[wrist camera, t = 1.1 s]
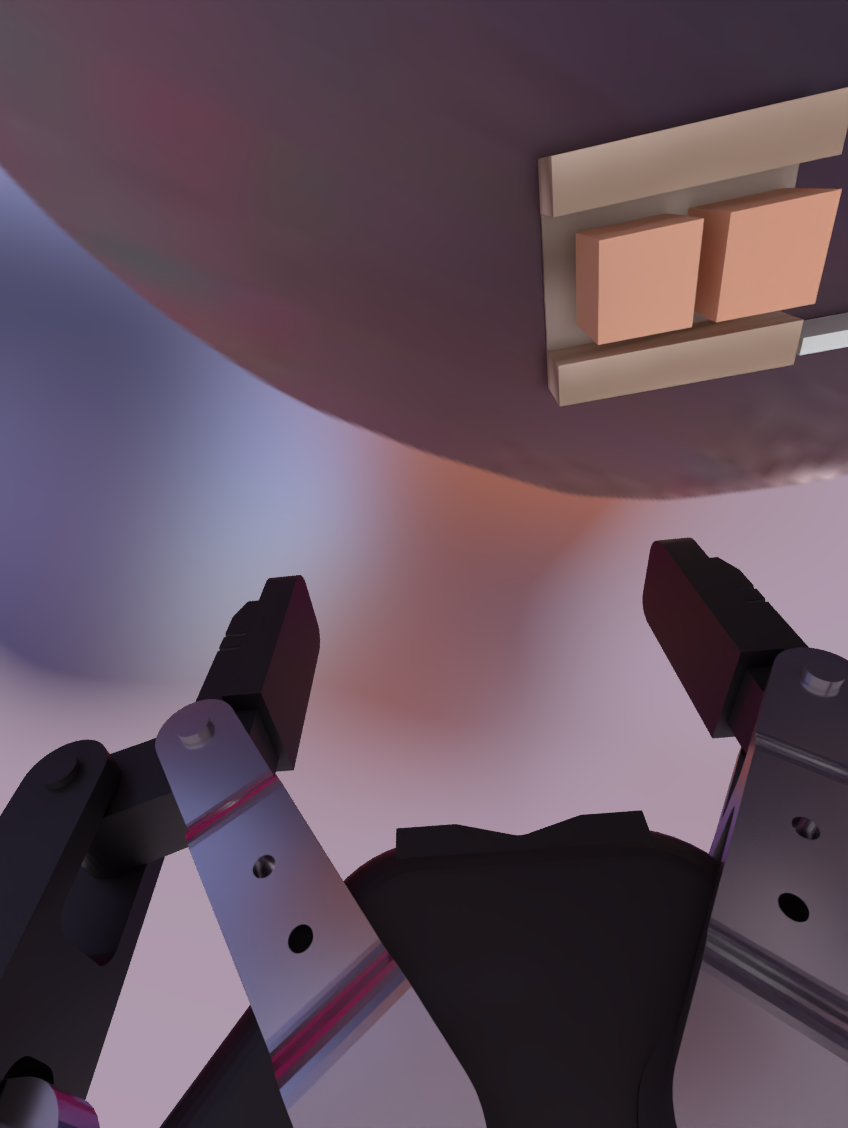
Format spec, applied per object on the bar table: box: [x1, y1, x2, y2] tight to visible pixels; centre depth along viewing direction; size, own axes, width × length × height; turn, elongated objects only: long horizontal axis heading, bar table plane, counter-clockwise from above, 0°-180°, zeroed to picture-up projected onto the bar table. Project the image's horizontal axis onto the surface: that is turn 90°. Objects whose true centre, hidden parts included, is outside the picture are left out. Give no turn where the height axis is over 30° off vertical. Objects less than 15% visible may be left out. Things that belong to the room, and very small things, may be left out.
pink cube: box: [576, 213, 704, 345], centre depth 23 cm, size 4×4×4 cm
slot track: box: [538, 87, 848, 406], centre depth 24 cm, size 10×11×3 cm
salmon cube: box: [688, 188, 842, 322], centre depth 23 cm, size 4×4×4 cm
